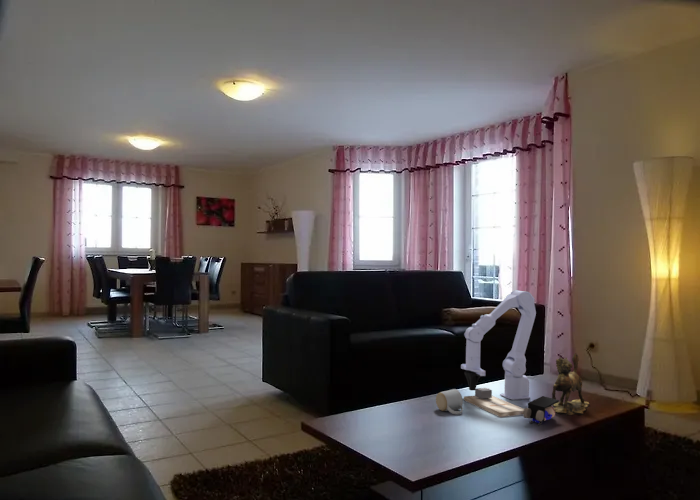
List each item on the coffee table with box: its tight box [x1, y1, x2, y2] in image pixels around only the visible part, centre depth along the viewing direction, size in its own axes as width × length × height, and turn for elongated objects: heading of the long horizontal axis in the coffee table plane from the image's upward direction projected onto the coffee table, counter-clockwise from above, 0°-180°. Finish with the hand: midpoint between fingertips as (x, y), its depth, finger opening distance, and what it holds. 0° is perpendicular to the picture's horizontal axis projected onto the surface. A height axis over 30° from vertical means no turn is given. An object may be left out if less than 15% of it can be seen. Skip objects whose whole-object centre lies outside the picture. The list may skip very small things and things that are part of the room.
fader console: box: [463, 395, 525, 418], centre depth 197 cm, size 12×23×2 cm, turn 21°
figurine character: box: [522, 396, 560, 427], centre depth 180 cm, size 7×8×15 cm
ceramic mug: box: [435, 388, 464, 416], centre depth 190 cm, size 10×8×7 cm
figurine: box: [551, 352, 590, 416], centre depth 199 cm, size 13×25×20 cm, turn 136°
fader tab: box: [474, 387, 493, 399], centre depth 204 cm, size 5×4×3 cm
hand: (472, 389), depth 211 cm, fingers closed
